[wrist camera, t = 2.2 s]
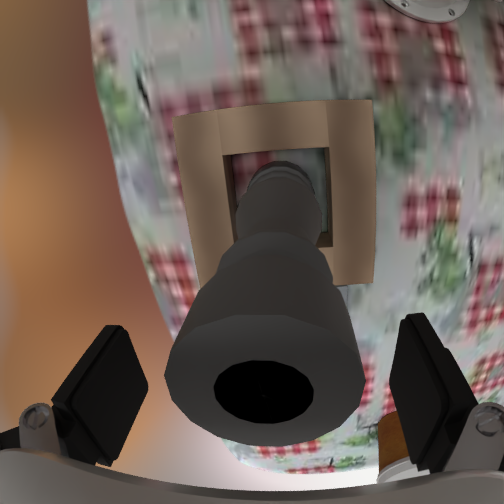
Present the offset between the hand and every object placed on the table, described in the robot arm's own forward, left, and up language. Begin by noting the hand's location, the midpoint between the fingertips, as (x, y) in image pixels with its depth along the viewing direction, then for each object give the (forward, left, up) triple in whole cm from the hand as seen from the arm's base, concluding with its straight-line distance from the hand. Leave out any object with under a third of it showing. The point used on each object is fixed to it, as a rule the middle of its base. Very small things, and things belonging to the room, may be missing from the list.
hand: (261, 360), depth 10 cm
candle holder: (0, 0, -23) cm, 23 cm away
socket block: (0, 0, -23) cm, 23 cm away
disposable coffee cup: (-17, +38, -23) cm, 48 cm away
